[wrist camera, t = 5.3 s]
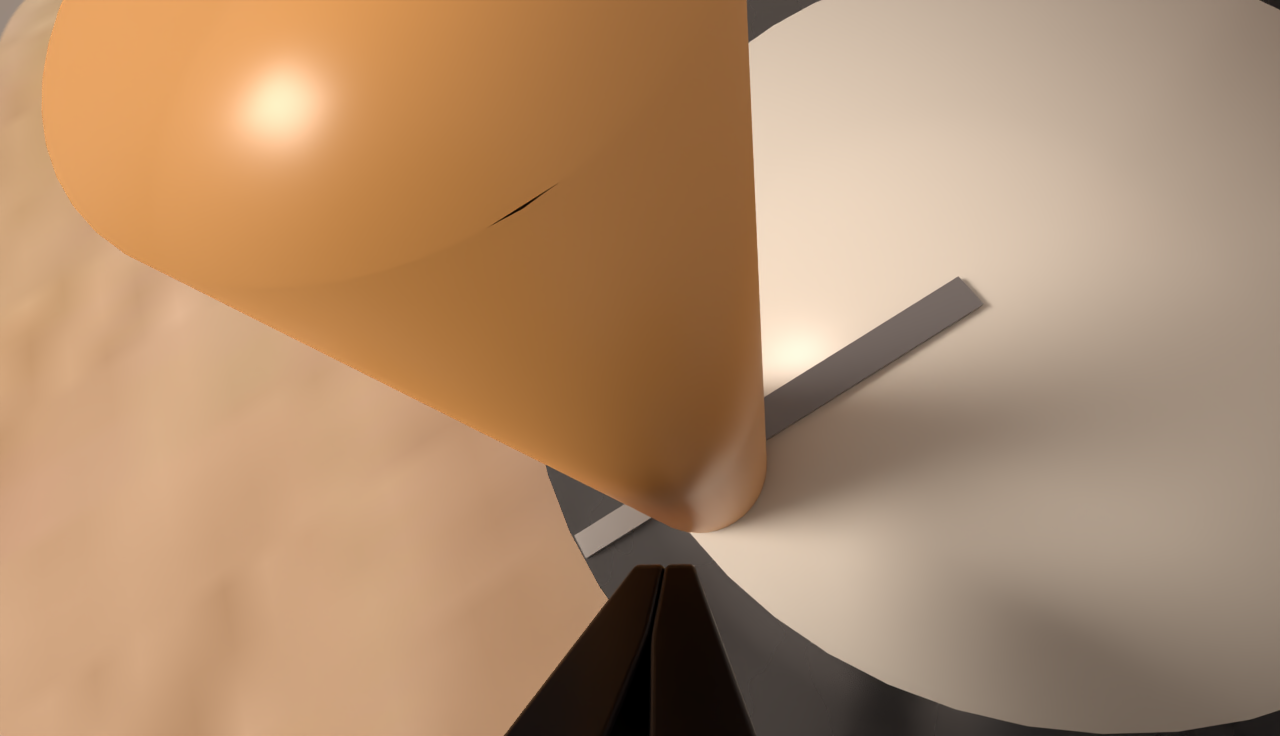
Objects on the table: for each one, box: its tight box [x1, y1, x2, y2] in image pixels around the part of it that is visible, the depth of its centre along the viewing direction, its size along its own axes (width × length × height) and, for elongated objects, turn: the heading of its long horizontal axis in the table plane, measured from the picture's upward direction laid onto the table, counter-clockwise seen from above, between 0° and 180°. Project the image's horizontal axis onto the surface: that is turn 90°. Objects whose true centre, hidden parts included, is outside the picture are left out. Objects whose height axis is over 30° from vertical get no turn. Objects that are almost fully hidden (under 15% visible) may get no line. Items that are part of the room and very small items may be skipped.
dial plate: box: [546, 0, 1280, 736], centre depth 16 cm, size 23×23×2 cm
